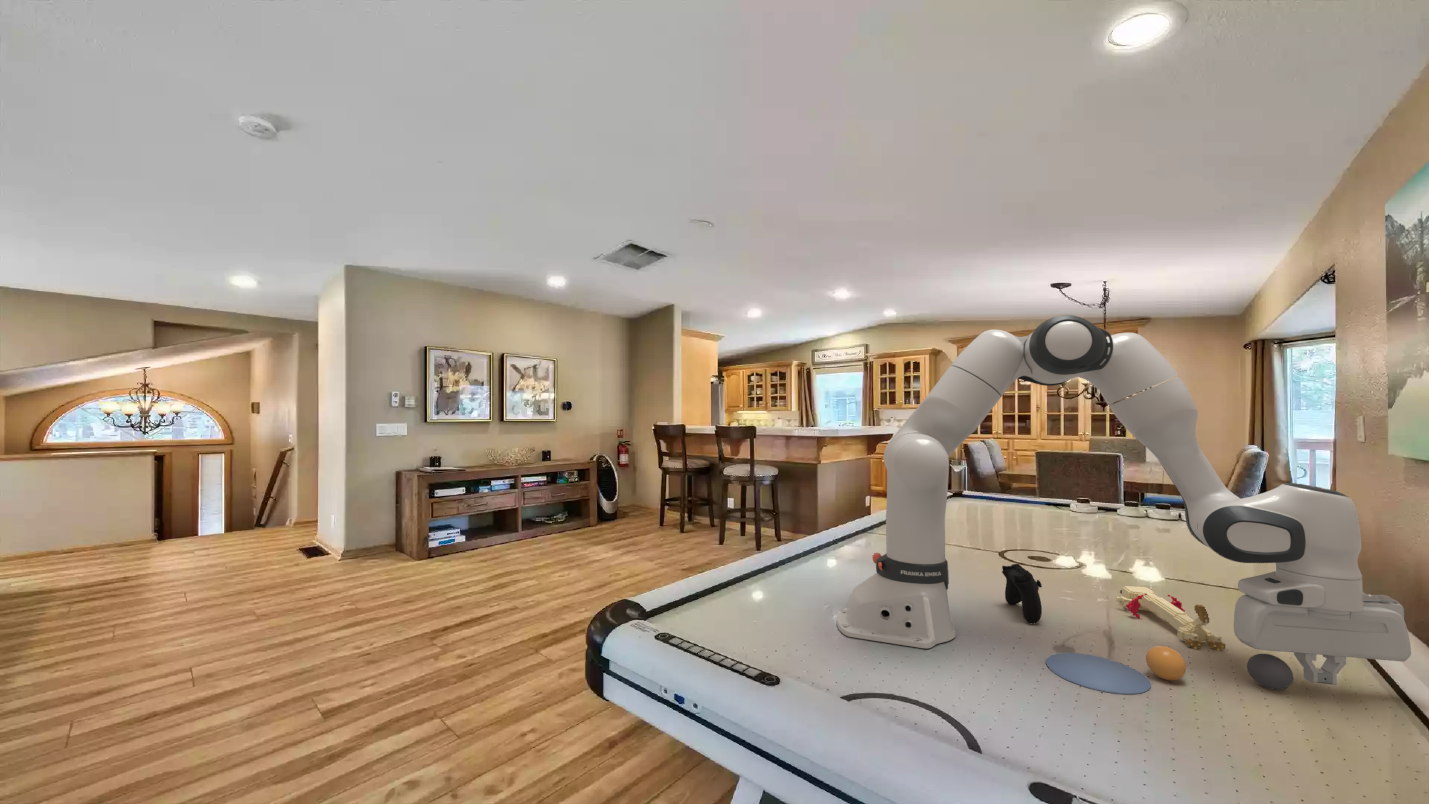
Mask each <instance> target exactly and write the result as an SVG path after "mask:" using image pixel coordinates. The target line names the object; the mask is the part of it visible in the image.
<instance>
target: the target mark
mask: <svg viewBox="0 0 1429 804" xmlns="http://www.w3.org/2000/svg"><path fill="white" fill-rule="evenodd" d="M1045 664H1047V665H1046V667H1047V666H1048V667H1049V668H1048V667H1047V668H1048V669H1049V670H1050V671H1051V672H1052V673H1053V672H1054V674H1055V675H1056V674H1057V676H1058V677H1060V678H1062V679H1064V680H1065V679H1066V680H1065V681H1068V682H1070V683H1073V684H1075V685H1078V686H1080V687H1084V688H1087V689H1090V690H1094V691H1099V692H1104V693H1110V694H1114V695H1115V694H1117V695H1139V694H1143V693H1146V692H1148V691H1149V690H1150V689H1151V688H1152V683H1151V681H1150V679H1149V678H1148V677H1147V676H1146V675H1145V674H1143V673H1142V672H1141V671H1139V670H1137V669H1135V668H1134V667H1131V666H1129V665H1126V664H1124V663H1122V662H1118V661H1116V660H1113V659H1109V658H1106V657H1101V656H1099V655H1098V656H1097V655H1092V654H1086V653H1080V652H1061V653H1054V654H1050V655H1049V656H1048V657H1047V658H1046V659H1045Z"/></svg>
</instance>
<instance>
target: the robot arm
mask: <svg viewBox="0 0 1429 804" xmlns="http://www.w3.org/2000/svg"><path fill="white" fill-rule="evenodd" d="M1075 378H1079V379H1084V380H1085V381H1087V382H1088V383H1091V384H1092V385H1093V386H1094V387H1095V388H1096V390H1099V392H1100V395H1101V396H1102V397H1103V399H1104V401H1105V402H1106V404H1107V406H1108V407H1109V408H1110V410H1111V412H1112V413H1113V414H1114V416H1115V417H1116V419H1117V420H1118V421H1119V422H1120V424H1122V426H1124V428H1125V429H1126V430H1127V431H1128V432H1129V433H1130V434H1131V435H1132V436H1133V437H1134V438H1135V439H1136V440H1137V441H1139V443H1141V444H1142V445H1143V446H1144V447H1145V448H1147V450H1148V451H1150V452H1151V453H1152V455H1154V457H1155V458H1156V459H1157V460H1158V462H1159V463H1160V465H1161V467H1162V468H1163V470H1164V471H1165V472H1166V475H1167V476H1168V478H1169V479H1170V481H1171V482H1172V484H1173V485H1174V487H1175V488H1176V490H1177V492H1178V493H1179V495H1180V497H1181V498H1182V500H1183V504H1184V505H1183V506H1184V517H1185V524H1186V527H1187V530H1188V531H1189V532H1190V534H1191V535H1192V536H1193V538H1194V539H1195V540H1197V541H1198V542H1199V543H1200V544H1202V545H1204V546H1206V547H1208V548H1209V549H1210V550H1211V551H1213V552H1214V553H1216V555H1218V556H1220V557H1222V558H1224V559H1227V560H1229V561H1232V562H1236V563H1240V564H1241V563H1242V564H1275V571H1270V572H1267V573H1263V574H1258V575H1255V576H1251V577H1250V576H1249V577H1245V578H1241V579H1239V580H1238V582H1237V588H1238V591H1240V592H1241V593H1243V594H1242V595H1240V596H1239V598H1237V600H1236V603H1235V605H1234V606H1235V607H1234V612H1233V613H1234V614H1233V632H1234V636H1235V637H1236V639H1238V641H1240V643H1242V644H1244V645H1246V646H1248V647H1249V648H1251V649H1254V650H1260V651H1270V652H1271V651H1272V652H1284V653H1293V656H1294V657H1295V658H1296V659H1297V661H1298V662H1299V664H1300V665H1301V667H1302V668H1303V677H1304V679H1305V680H1306V681H1308V682H1310V683H1312V684H1323V685H1330V686H1331V685H1332V686H1336V685H1337V684H1338V674H1339V673H1340V672H1341V671H1342V670H1343V668H1345V666H1346V665H1347V658H1354V659H1355V658H1356V659H1365V660H1366V659H1367V660H1379V661H1380V660H1381V661H1388V662H1389V661H1394V662H1400V663H1401V662H1406V661H1407V660H1408V659H1409V658H1410V657H1411V656H1412V646H1411V639H1410V634H1409V630H1408V626H1407V624H1406V622H1405V609H1404V606H1403V605H1402V604H1401V603H1400V602H1399V601H1398V600H1396V599H1395V598H1392V597H1391V596H1390V595H1386V594H1369V593H1364V591H1363V589H1364V588H1363V575H1362V572H1361V570H1360V567H1359V563H1358V562H1359V561H1358V559H1359V555H1360V553H1361V551H1362V536H1361V526H1360V521H1359V516H1358V515H1359V514H1358V511H1357V507H1356V505H1355V503H1354V501H1353V499H1351V497H1350V496H1348V495H1345V493H1342V492H1339V491H1336V490H1334V489H1333V490H1332V489H1328V488H1324V487H1319V486H1314V485H1310V484H1309V485H1308V484H1304V483H1303V484H1302V483H1296V482H1287V483H1286V482H1285V483H1281V484H1280V485H1278V486H1277V487H1275V488H1272V489H1271V490H1268V491H1265V492H1262V493H1259V494H1255V495H1252V496H1249V497H1242V498H1241V497H1240V496H1239V495H1237V494H1235V493H1233V492H1232V491H1231V490H1230V489H1229V488H1228V487H1227V486H1226V485H1225V484H1224V483H1223V481H1222V480H1221V478H1220V476H1219V474H1218V473H1217V472H1216V470H1215V469H1214V467H1213V466H1212V464H1211V463H1210V461H1209V460H1208V459H1207V457H1206V456H1205V454H1204V452H1203V450H1202V449H1201V447H1200V445H1199V442H1198V440H1197V439H1198V438H1197V433H1196V427H1197V422H1198V415H1199V411H1198V409H1197V406H1196V404H1195V400H1194V399H1193V396H1192V395H1191V393H1190V391H1189V389H1188V387H1187V385H1186V384H1185V382H1184V381H1183V380H1182V378H1181V377H1180V376H1179V374H1178V372H1177V371H1176V370H1175V368H1174V367H1173V366H1172V365H1171V363H1170V362H1169V361H1168V360H1167V358H1165V356H1163V355H1162V353H1161V352H1160V351H1159V350H1158V349H1157V347H1155V346H1154V345H1153V344H1152V343H1150V341H1148V340H1147V339H1146V338H1145V337H1144V336H1142V335H1140V334H1139V333H1135V332H1119V333H1115V334H1112V335H1111V333H1110V332H1108V331H1107V330H1105V329H1103V328H1100V327H1098V326H1096V325H1095V324H1093V323H1092V322H1091V321H1089V320H1087V319H1086V318H1083V317H1081V316H1077V315H1072V314H1061V315H1057V316H1054V317H1053V316H1052V317H1051V318H1049V319H1047V320H1045V321H1043V322H1041V323H1040V324H1039V325H1037V326H1036V328H1035V329H1034V330H1033V331H1032V332H1031V333H1030V334H1028V335H1027V336H1026V335H1025V336H1016V335H1013V334H1012V333H1011V332H1009V331H1005V330H1001V329H994V328H993V329H988V330H985V331H983V332H982V333H980V334H979V335H977V336H976V338H974V339H973V340H972V341H971V342H970V343H969V344H967V346H966V347H965V348H964V349H963V350H962V351H961V352H960V353H959V354H958V356H957V357H956V358H955V359H954V360H953V362H951V364H950V365H949V367H947V370H945V372H944V373H943V375H942V376H941V377H940V379H939V380H938V381H937V383H935V385H934V386H933V387H932V389H931V390H930V392H929V393H928V394H927V395H926V397H925V398H924V399H923V400H922V402H921V403H920V404H919V405H918V406H917V407H916V409H914V411H913V412H912V413H911V414H910V416H909V417H908V418H907V419H906V421H905V422H904V423H903V424H902V426H901V427H900V428H899V429H898V430H897V431H896V432H895V434H894V435H893V436H892V438H891V439H890V440H889V442H888V443H887V444H886V446H885V449H884V451H883V463H884V466H885V469H886V473H887V474H886V475H887V477H886V484H887V485H886V507H885V508H886V509H885V510H886V511H885V536H886V537H885V540H886V541H885V544H886V549H885V550H886V551H885V552H886V553H885V554H883V555H881V553H879V552H874V553H873V555H872V557H871V558H872V561H873V563H874V564H875V571H876V573H874V574H873V575H872V576H870V577H868V578H867V579H865V580H864V581H862V582H860V583H859V584H857V585H856V586H854V588H853V589H852V590H851V593H850V594H849V598H848V603H847V607H845V608H842V609H841V610H840V611H839V612H838V613H837V615H836V616H837V617H836V626H837V628H838V629H839V630H838V631H840V633H842V634H843V635H845V636H846V637H850V638H855V639H862V640H869V641H872V642H873V641H874V642H881V643H887V644H893V645H900V646H906V647H912V648H913V647H914V648H918V649H919V648H920V649H930V648H933V647H935V646H936V645H938V644H942V643H946V642H949V641H952V640H953V639H954V638H955V637H956V634H957V633H956V629H955V626H954V623H953V619H952V615H951V610H950V605H949V597H948V589H949V583H950V577H949V576H950V569H949V563H948V560H947V559H946V511H947V503H948V502H947V501H948V491H949V490H948V489H949V471H950V459H949V457H950V456H951V455H952V454H953V453H954V452H955V450H957V448H958V447H959V446H960V445H961V444H963V443H964V441H965V440H966V439H968V438H969V436H971V435H972V434H973V433H974V432H975V431H976V430H978V428H979V426H980V425H981V424H982V423H983V421H984V420H985V418H986V417H987V416H988V415H989V413H990V412H991V411H992V410H993V408H994V407H995V406H996V405H997V403H998V402H999V401H1000V400H1001V398H1002V397H1003V396H1004V394H1005V393H1006V392H1007V390H1008V389H1009V388H1010V386H1011V385H1012V384H1013V383H1014V382H1016V380H1017V379H1018V380H1021V381H1025V382H1030V383H1033V384H1036V385H1039V386H1045V387H1046V386H1047V387H1048V386H1049V387H1052V386H1053V387H1054V386H1059V385H1062V384H1065V383H1066V382H1069V381H1070V380H1072V379H1075ZM1317 655H1322V657H1323V658H1325V660H1324V662H1323V664H1322V665H1321V666H1320V667H1316V665H1315V664H1314V662H1317Z"/></svg>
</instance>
